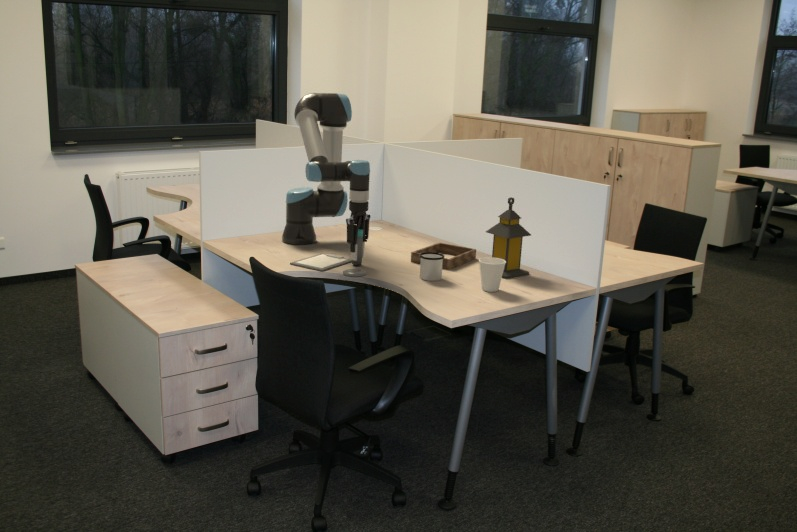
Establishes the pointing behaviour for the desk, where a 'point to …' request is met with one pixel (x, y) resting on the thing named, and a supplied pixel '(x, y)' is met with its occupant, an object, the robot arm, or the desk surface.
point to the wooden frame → (460, 252)
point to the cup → (491, 273)
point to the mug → (431, 266)
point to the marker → (359, 248)
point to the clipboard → (322, 262)
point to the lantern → (509, 242)
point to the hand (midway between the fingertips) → (357, 258)
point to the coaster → (354, 272)
